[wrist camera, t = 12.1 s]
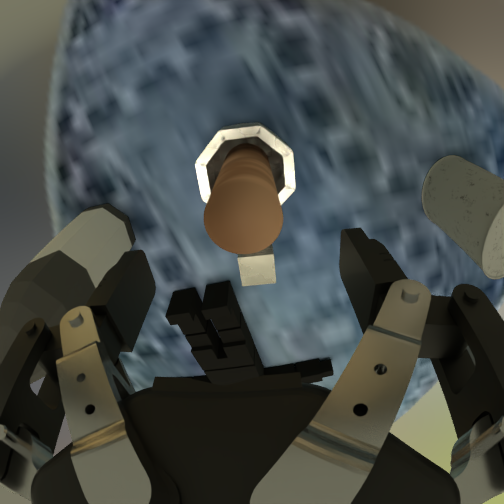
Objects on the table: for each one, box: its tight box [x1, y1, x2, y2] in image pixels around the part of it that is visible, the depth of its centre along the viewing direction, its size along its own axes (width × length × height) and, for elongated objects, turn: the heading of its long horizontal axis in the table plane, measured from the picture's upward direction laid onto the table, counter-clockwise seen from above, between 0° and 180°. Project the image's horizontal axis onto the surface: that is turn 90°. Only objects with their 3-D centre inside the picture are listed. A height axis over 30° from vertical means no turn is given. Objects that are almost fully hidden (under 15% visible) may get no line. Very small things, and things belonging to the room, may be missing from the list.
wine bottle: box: [0, 204, 136, 384], centre depth 18 cm, size 8×8×30 cm
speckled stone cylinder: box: [422, 155, 504, 279], centre depth 23 cm, size 10×10×12 cm
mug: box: [195, 122, 296, 286], centre depth 25 cm, size 8×13×8 cm, turn 7°
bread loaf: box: [204, 143, 283, 254], centre depth 19 cm, size 4×4×12 cm
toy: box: [166, 281, 333, 385], centre depth 41 cm, size 30×5×30 cm
